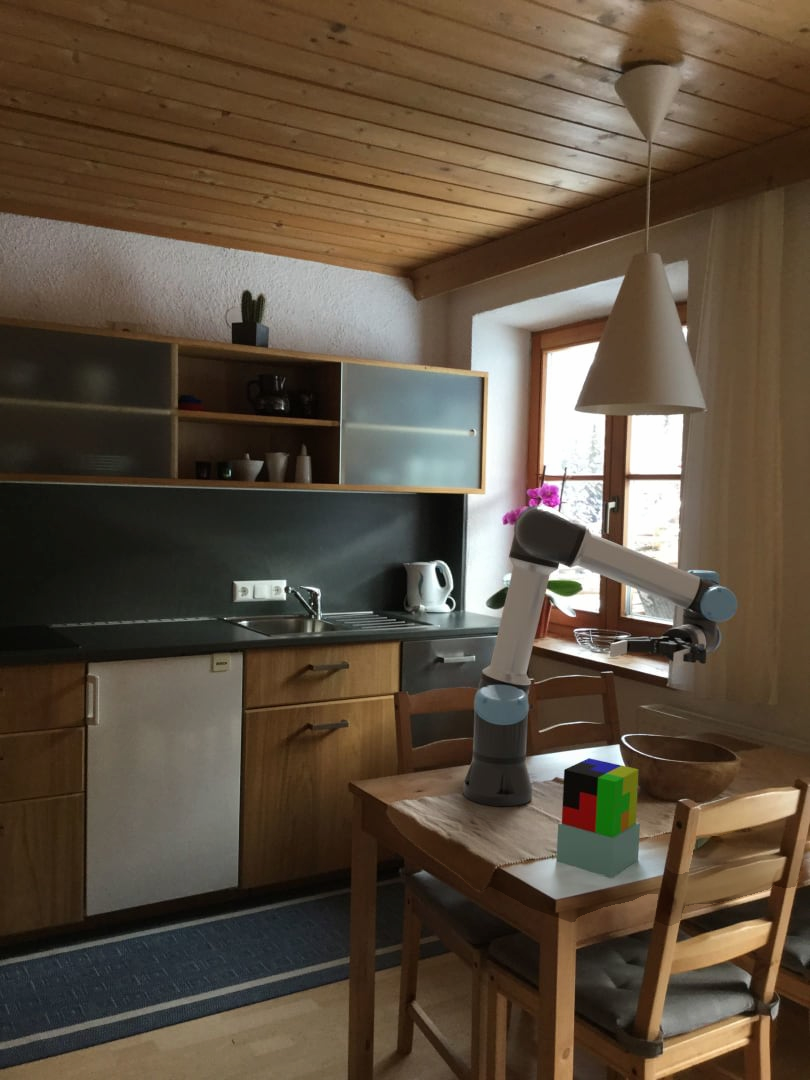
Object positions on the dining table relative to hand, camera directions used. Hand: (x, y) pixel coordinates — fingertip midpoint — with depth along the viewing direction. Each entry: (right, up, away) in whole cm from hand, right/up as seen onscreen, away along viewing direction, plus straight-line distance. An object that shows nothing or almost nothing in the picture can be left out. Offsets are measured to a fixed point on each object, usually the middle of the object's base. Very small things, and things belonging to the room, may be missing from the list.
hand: (642, 654), depth 190 cm
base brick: (-13, -36, -18) cm, 42 cm away
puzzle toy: (-13, -29, -18) cm, 36 cm away
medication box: (+10, -36, -5) cm, 38 cm away
